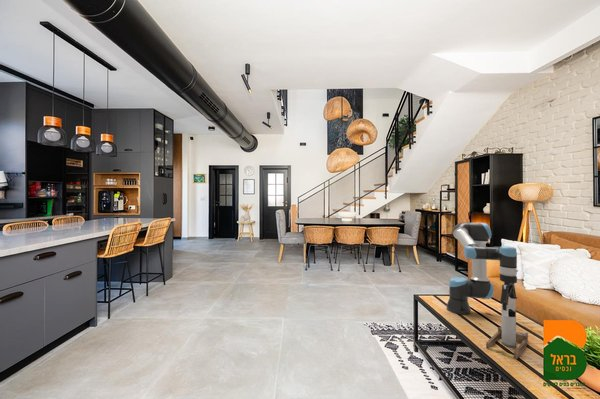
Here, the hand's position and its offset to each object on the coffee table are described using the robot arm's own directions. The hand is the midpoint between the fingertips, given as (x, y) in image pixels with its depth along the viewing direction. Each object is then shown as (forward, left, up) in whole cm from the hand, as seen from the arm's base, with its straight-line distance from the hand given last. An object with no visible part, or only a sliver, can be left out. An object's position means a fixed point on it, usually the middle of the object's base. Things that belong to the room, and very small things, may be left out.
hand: (508, 312), depth 144 cm
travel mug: (0, 0, -18) cm, 18 cm away
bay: (0, 0, -18) cm, 18 cm away
